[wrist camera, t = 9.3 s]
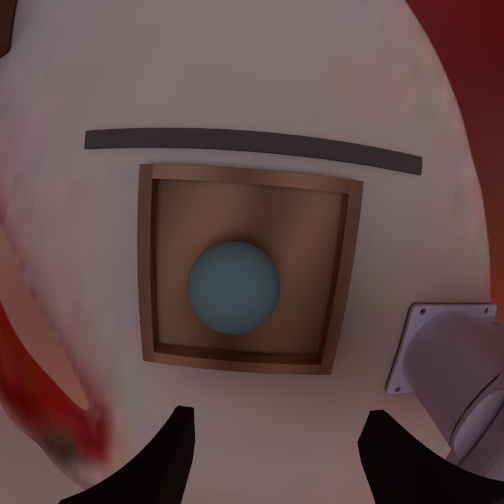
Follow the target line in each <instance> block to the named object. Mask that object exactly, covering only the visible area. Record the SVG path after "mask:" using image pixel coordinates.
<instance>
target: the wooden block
mask: <svg viewBox="0 0 504 504" xmlns="http://www.w3.org/2000/svg"><path fill="white" fill-rule="evenodd" d="M15 5H16V0H0V57H1V56H2V55H4V54H5V53H7V52H8V50H9V46H10V37H11V30H12V23H13V16H14V10H15Z"/></svg>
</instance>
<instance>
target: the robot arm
mask: <svg viewBox="0 0 504 504" xmlns="http://www.w3.org/2000/svg"><path fill="white" fill-rule="evenodd" d="M422 309H424V310H423V312H422V313H420V311H421V310H422ZM485 309H486V310H485ZM496 311H497V306H496V305H495V304H414V305H413V306H412V307H411V309H410V312H409V315H408V319H407V323H406V327H405V330H404V334H403V337H402V341H401V344H400V347H399V351H398V354H397V357H396V360H395V363H394V366H393V369H392V372H391V375H390V378H389V381H388V384H387V386H386V392H387V394H390V395H391V394H401V393H410V392H414V393H415V394H416V395H417V397H418V398H419V400H420V401H421V403H422V404H423V406H424V407H425V409H426V411H427V412H428V414H429V415H430V417H431V418H432V420H433V421H434V423H435V424H436V426H437V427H438V429H439V431H440V432H441V434H442V435H443V437H444V438H445V440H446V442H447V443H448V445H449V446H450V448H451V450H450V453H449V454H448V456H447V457H446V460H445V459H443V458H442V457H440V456H438V455H437V454H435V453H434V452H433V451H431V450H430V449H428V448H427V447H426V446H424V445H423V444H422V443H421V442H419V441H418V440H417V439H416V438H415V437H413V436H412V435H411V434H410V433H409V432H408V431H406V430H405V429H404V428H403V427H402V426H401V425H400V424H399V423H398V422H397V421H395V420H394V419H393V418H392V417H391V416H390V415H389V414H388V413H387V412H385V411H384V410H374V411H370V413H369V416H368V418H367V421H366V423H365V426H364V428H363V431H362V433H361V435H360V438H359V440H358V442H357V443H358V448H359V454H360V458H361V463H362V466H363V469H364V472H365V474H366V477H367V480H368V483H369V486H370V489H371V491H372V494H373V497H374V500H375V503H376V504H504V323H503V322H501V321H500V320H499V319H497V318H496V317H495V314H496ZM396 388H397V389H396ZM194 446H195V425H194V408H192V407H185V406H177V407H176V408H175V410H174V411H173V413H172V414H171V416H170V417H169V419H168V420H167V422H166V423H165V424H164V426H163V427H162V428H161V429H160V431H159V432H158V433H157V434H156V435H155V437H154V438H153V439H152V440H151V441H150V442H149V443H148V444H147V445H146V446H145V447H144V448H143V449H142V450H141V451H140V452H139V453H138V454H137V455H136V456H135V457H134V458H133V459H132V460H131V461H130V462H128V463H127V464H126V465H125V466H123V467H122V468H121V469H119V470H118V471H117V472H115V473H114V474H112V475H111V476H110V477H108V478H107V479H105V480H103V481H102V482H100V483H98V484H96V485H94V486H92V487H91V488H89V489H87V490H85V491H83V492H81V493H78V494H76V495H73V496H71V497H69V498H66V499H63V500H61V501H60V502H59V503H58V504H181V501H182V497H183V494H184V490H185V486H186V483H187V479H188V475H189V472H190V468H191V464H192V460H193V453H194Z"/></svg>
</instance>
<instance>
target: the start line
mask: <svg viewBox="0 0 504 504" xmlns="http://www.w3.org/2000/svg"><path fill="white" fill-rule="evenodd" d="M140 147H158V148H201V149H222V150H238V151H252V152H264V153H275V154H286V155H295V156H304V157H312V158H320V159H328V160H335V161H342V162H349V163H356V164H362V165H368V166H374V167H380V168H385V169H391V170H396V171H401V172H407V173H412V174H416V175H421V171H422V157H419V156H414V155H410V154H405V153H401V152H396V151H391V150H386V149H381V148H376V147H371V146H365V145H360V144H354V143H348V142H341V141H335V140H328V139H321V138H313V137H306V136H297V135H288V134H279V133H268V132H256V131H243V130H226V129H203V128H130V129H108V130H92V131H86V135H85V147H84V149H98V148H140Z"/></svg>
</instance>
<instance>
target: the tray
mask: <svg viewBox="0 0 504 504" xmlns="http://www.w3.org/2000/svg"><path fill="white" fill-rule="evenodd" d="M362 192H363V181H356V180H349V179H341V178H334V177H326V176H318V175H309V174H300V173H290V172H280V171H269V170H257V169H245V168H230V167H213V166H192V165H161V164H140V171H139V191H138V230H137V252H138V291H139V311H140V326H141V339H142V351H143V361H149V362H156V363H163V364H170V365H178V366H186V367H195V368H204V369H214V370H225V371H238V372H253V373H272V374H309V375H330V374H331V370H332V366H333V362H334V358H335V353H336V349H337V345H338V340H339V336H340V331H341V326H342V321H343V316H344V311H345V306H346V301H347V296H348V290H349V285H350V279H351V273H352V267H353V261H354V254H355V247H356V240H357V233H358V226H359V218H360V210H361V201H362ZM225 241H241V242H246V243H249V244H252V245H254V246H256V247H258V248H259V249H261V250H262V251H263V252H265V253H266V254H267V255H268V256H269V258H270V259H271V260H272V262H273V263H274V265H275V267H276V269H277V272H278V274H279V278H280V297H279V301H278V304H277V306H276V308H275V310H274V312H273V314H272V315H271V316H270V318H269V319H268V320H267V321H266V322H265V323H264V324H262V325H261V326H260V327H258V328H256V329H254V330H252V331H249V332H246V333H242V334H226V333H221V332H218V331H216V330H213V329H211V328H210V327H208V326H207V325H205V324H204V323H203V322H202V321H201V320H200V319H199V318H198V317H197V316H196V314H195V313H194V311H193V310H192V308H191V305H190V303H189V299H188V294H187V280H188V275H189V272H190V269H191V267H192V265H193V264H194V262H195V260H196V259H197V258H198V257H199V256H200V255H201V254H202V253H203V252H204V251H205V250H206V249H208V248H209V247H211V246H213V245H216V244H218V243H221V242H225Z"/></svg>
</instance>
